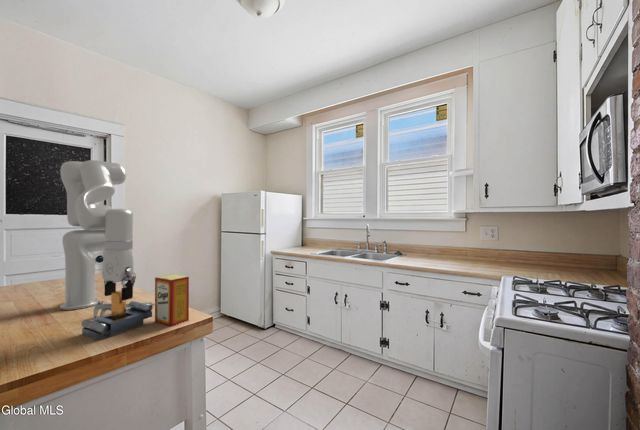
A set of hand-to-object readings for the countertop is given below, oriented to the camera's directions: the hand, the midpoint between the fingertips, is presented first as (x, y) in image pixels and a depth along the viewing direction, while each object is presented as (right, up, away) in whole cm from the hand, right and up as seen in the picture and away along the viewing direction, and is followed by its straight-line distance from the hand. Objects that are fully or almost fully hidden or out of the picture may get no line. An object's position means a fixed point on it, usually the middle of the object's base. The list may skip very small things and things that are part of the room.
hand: (118, 297), depth 93 cm
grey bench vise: (0, -10, 0) cm, 10 cm away
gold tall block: (0, -10, 0) cm, 10 cm away
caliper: (-9, -11, +17) cm, 22 cm away
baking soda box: (+15, -11, +6) cm, 19 cm away
